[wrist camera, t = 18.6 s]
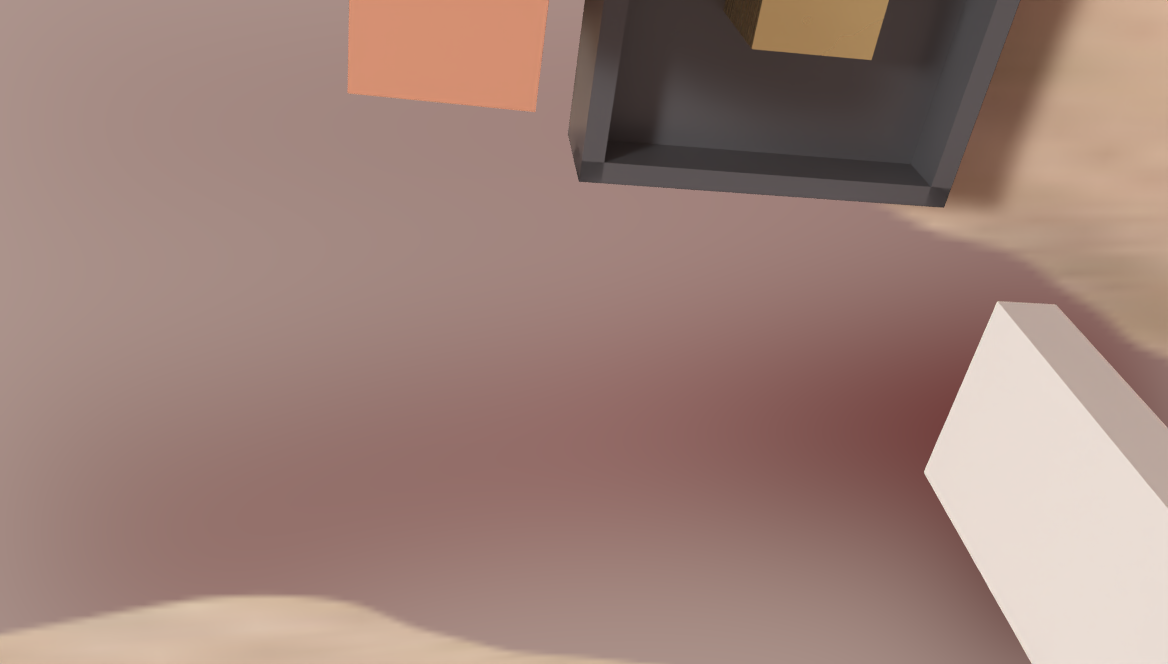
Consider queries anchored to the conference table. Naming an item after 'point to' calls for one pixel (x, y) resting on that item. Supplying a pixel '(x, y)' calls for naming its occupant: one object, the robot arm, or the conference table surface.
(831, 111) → the tray
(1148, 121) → the conference table surface
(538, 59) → the salmon pink rectangular prism
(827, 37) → the tan wooden cube
